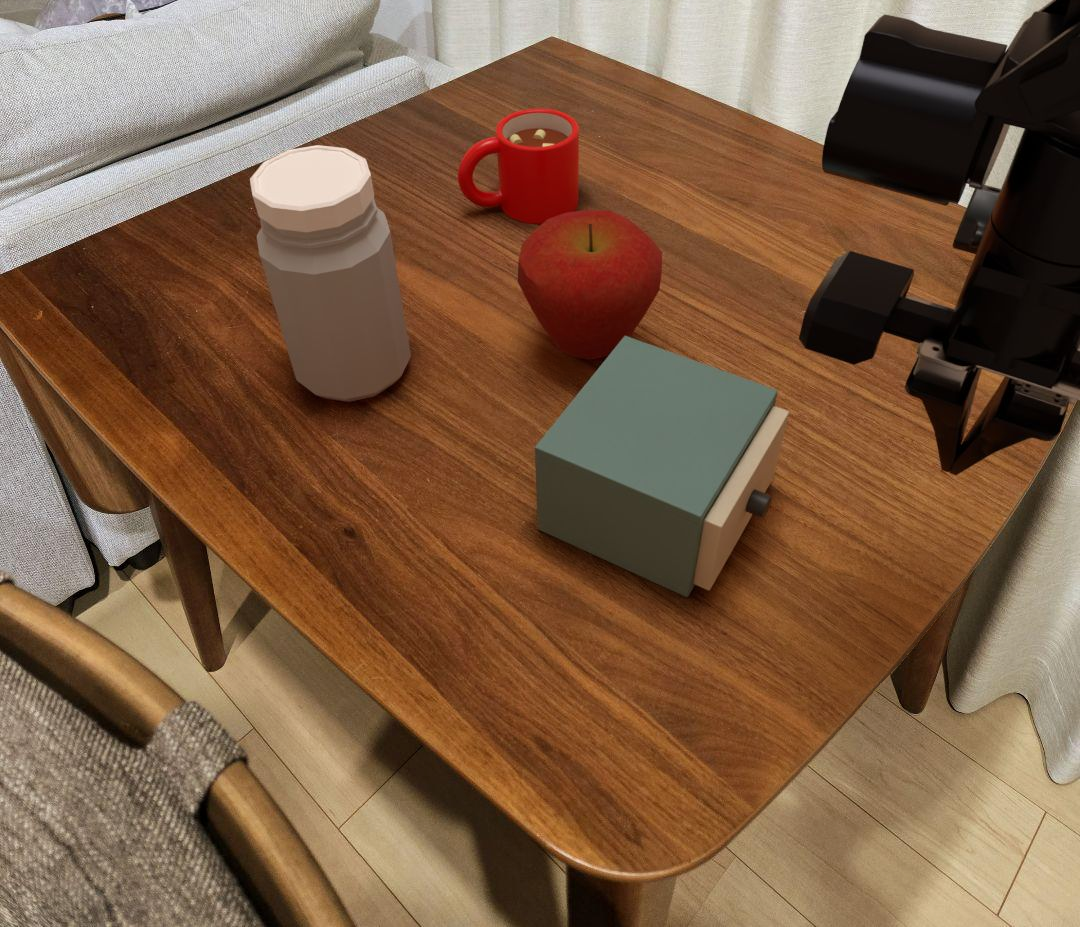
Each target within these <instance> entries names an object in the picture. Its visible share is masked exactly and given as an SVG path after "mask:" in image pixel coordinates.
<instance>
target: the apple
mask: <svg viewBox="0 0 1080 927" xmlns="http://www.w3.org/2000/svg"><path fill="white" fill-rule="evenodd" d="M517 263H518V265H517V284H518V285H519V288H520V289H521V291H522V294H523V295H524V297H525V300H526V302H527V303H528V306H529V307H530V310H531V311H532V312H533V314H534V316H535V317H536V319H537V321H538V323H539V324H540V325H541V327H542V328H543V330H544V331H545V333H546V334H547V335H548V337H549V339H550V340H551V342H552V344H554V345H555V346H556V347H557V348H558V349H559V350H560V351H562V352H563V353H564V354H567V355H570V356H572V357H574V358H578V359H585V360H597V359H602V358H607V357H608V356H609V355H610V353H611V352H612V351H613V350H614V348H615V347H616V346H617V345H618V343H619V342H620V341H621V340H622V339H623V337H624V336H628V337H630V338H631V336H632V334H633V333H634V331H635V330H636V329H637V328H638V326H639V324H640V323H641V322H642V320H643V319H644V317H645V316H646V314H647V313H648V310H649V309H650V307H651V305H653V304H652V303H653V302H654V300H655V299H656V297H657V296H658V294H659V292H660V288H661V280H662V274H663V252H662V250H661V249H660V247H659V246H658V245H657V243H656V242H655V241H654V240H653V238H652V237H651V236H649V235H648V234H647V233H646V232H645V231H644V230H643V229H642V228H641V227H639V226H638V225H637V224H635V223H634V222H633V221H631V219H629V218H628V217H626V216H624V215H621V214H618V213H615V212H613V211H611V210H607V209H606V210H605V209H604V210H603V209H601V210H600V209H584V210H574V211H573V212H567V213H563V214H560V215H558V216H555V217H552V218H550V219H547V220H546V221H545V222H544V223H541V224H539V225H538V227H536V228H535V230H534V231H532V232H531V233H530V234H529V236H528V237H526V239H525V240H524V241H523V242H522V243H521V248H520V252H519V256H518V262H517Z"/></svg>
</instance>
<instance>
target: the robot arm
mask: <svg viewBox="0 0 1080 927" xmlns="http://www.w3.org/2000/svg"><path fill="white" fill-rule="evenodd" d="M1011 126H1012V127H1016V128H1019V129H1023V131H1022V134H1021V137H1020V139H1019V142H1018V143H1017V146H1016V150H1015V152H1014V154H1013V156H1012V157H1013V158H1012V159H1011V162H1010V165H1009V167H1008V169H1007V172H1006V176H1005V178H1004V180H1003V183H1002V185H1001V188H998V187H995V186H991V185H988V184H987V185H986V183H987V181H988V179H989V177H990V175H991V173H992V171H993V168H994V166H995V163H996V162H997V160H998V157H999V154H1000V152H1001V150H1002V147H1003V145H1004V142H1005V140H1006V138H1007V134H1008V132H1009V130H1010V127H1011ZM821 155H822V156H821V167H822V168H821V169H822V172H824V173H825V174H828V175H830V176H831V175H832V176H836V177H839V178H842V179H846V180H849V181H854V182H858V183H861V184H865V185H868V186H871V187H876V188H879V189H882V190H885V191H891V192H893V193H898V194H900V195H904V196H908V197H912V198H916V199H918V200H923V201H926V202H930V203H935V204H938V205H941V206H944V207H946V206H948V205H949V204H950V203H951V204H955V205H958V204H959V203H960V201H961V198H962V196H963V194H964V192H965V189H966V186H967V185H968V187H969V188H972V189H974V190H973V192H972V195H971V196H970V199H969V202H968V204H967V207H966V209H965V211H964V214H963V216H962V219H961V221H960V223H959V226H958V229H957V231H956V234H955V236H954V239H953V241H952V248H953V249H955V250H958V251H962V252H966V253H970V254H973V255H974V256H973V260H972V262H971V265H970V268H969V270H968V273H967V276H966V278H965V281H964V283H963V286H962V288H961V291H960V294H959V296H958V299H957V301H956V303H955V307H954V308H952V307H949V306H945V305H942V304H939V303H935V302H931V301H929V300H926V299H923V298H919V297H916V296H912V295H908V293H909V291H910V287H911V285H912V282H913V279H914V276H915V269H914V268H910V267H907V266H903V265H901V264H897V263H893V262H890V261H887V260H883V259H880V258H876V257H873V256H869V255H867V254H862V253H859V252H856V251H853V250H849V251H847V252H845V253H844V254H842V255H840V256H838V257H837V258H835V260H834V262H832V264H831V266H830V268H828V271H827V273H826V274H825V276H824V277H823V279H822V281H821V282H820V283H819V285H818V287H816V289H815V292H814V293H813V294H812V296H811V298H810V299H809V302H808V304H807V306H806V309H805V311H804V315H803V319H802V322H801V327H800V331H799V336H798V340H799V342H800V343H801V345H802V346H803V347H804V349H805V350H809V351H811V352H815V353H817V354H820V355H824V356H826V357H830V358H833V359H835V360H838V361H840V362H841V361H842V362H844V363H847V364H849V365H853V366H854V365H855V366H856V365H857V364H860V363H863V362H866V361H869V360H872V359H874V357H875V355H876V354H877V351H878V348H879V345H880V341H881V339H882V336H883V334H884V333H886V334H889V335H891V336H895V337H897V338H901V339H905V340H907V341H911V342H912V343H913V342H914V343H916V344H919V345H918V348H917V350H916V353H915V354H917V357H916V360H915V362H914V364H913V366H912V368H911V371H910V373H909V374H908V377H907V379H906V381H905V384H904V391H905V392H906V393H907V394H908V395H910V396H911V397H913V398H917V399H919V400H920V401H921V402H922V405H923V407H924V409H925V412H926V414H927V416H928V418H929V422H930V424H931V427H932V429H933V432H934V437H935V442H936V446H937V452H938V453H937V454H938V458H939V463H940V469H941V471H943V472H946V473H949V474H951V475H954V476H958V475H959V474H961V473H963V472H965V471H966V470H967V469H969V468H971V467H972V466H974V465H976V464H978V463H980V462H981V461H983V460H985V459H986V458H988V457H989V456H991V455H993V454H995V453H998V452H1000V451H1001V450H1005V449H1007V448H1009V447H1012V446H1014V445H1017V444H1020V443H1022V442H1024V441H1026V440H1027V441H1028V440H1029V439H1036V440H1040V441H1043V442H1052V441H1054V440H1056V439H1057V438H1058V436H1060V433H1061V431H1062V428H1063V424H1064V421H1065V417H1066V415H1067V412H1068V408H1069V405H1075V403H1076V401H1080V0H1051V1H1050V2H1048V3H1047V4H1046V5H1044V6H1042V8H1040V9H1039V10H1038V11H1037V10H1036V11H1034V12H1033V13H1032V14H1031V16H1030V17H1028V18H1027V19H1026V20H1024V21H1023V23H1022V24H1021V26H1020V28H1019V29H1018V31H1017V32H1016V34H1015V36H1014V37H1013V39H1012V41H1011V42H1010V44H1009V45H1008V44H1005V43H1000V42H994V41H990V40H985V39H981V38H976V37H971V36H967V35H962V34H956V33H951V32H947V31H943V30H938V29H933V28H930V27H926V26H925V25H923V24H920V23H918V22H916V21H915V20H912V19H908V18H905V17H900V16H895V15H890V14H883V15H881V16H880V17H879V18H878V19H877V20H876V21H875V22H874V24H873V25H871V27H870V28H869V30H867V31H866V33H865V34H864V37H863V40H862V45H861V49H860V54H859V58H858V60H857V62H856V64H855V66H854V67H853V70H852V72H851V73H850V76H849V79H848V81H847V84H846V86H845V88H844V91H843V93H842V97H841V99H840V102H839V105H838V108H837V111H836V112H835V113H834V114H833V116H832V117H831V119H830V120H829V122H828V124H827V129H826V133H825V137H824V142H823V148H822V154H821ZM982 370H983V371H987V372H988V373H989V372H990V373H993V374H995V375H999V376H1002V377H1003V378H1002V380H1001V382H1000V384H999V385H998V387H997V388H996V390H995V392H994V393H993V394H992V396H991V397H990V399H989V401H988V402H987V404H986V405H985V407H984V408H983V410H982V411H981V413H980V414H979V416H978V417H977V419H976V420H975V421H974V423H973V425H972V427H970V429H969V431H968V432H967V433H966V430H967V426H968V422H969V420H970V419H969V418H970V414H971V412H972V411H971V410H972V406H973V403H974V399H975V396H976V391H977V388H978V383H979V380H980V376H981V374H982ZM965 434H966V436H965Z"/></svg>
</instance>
